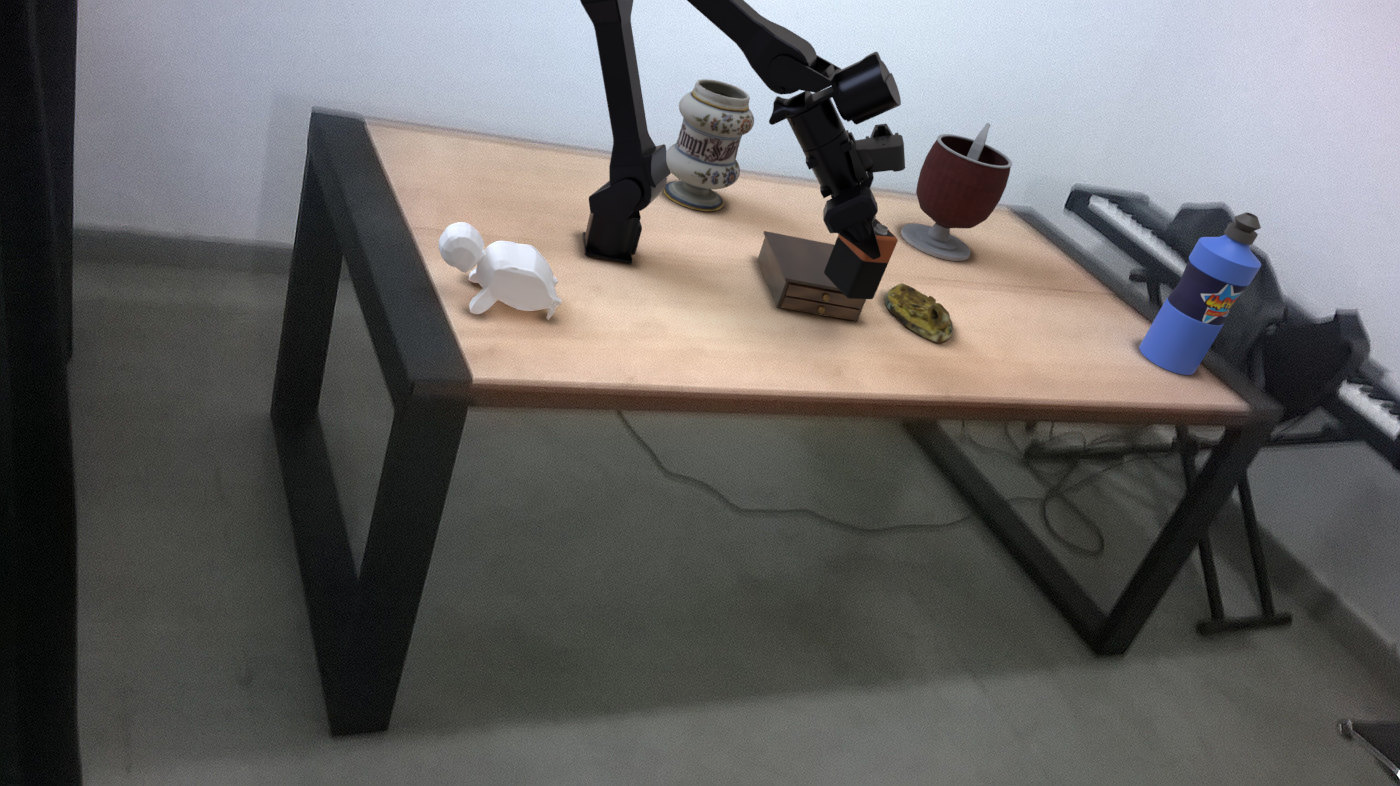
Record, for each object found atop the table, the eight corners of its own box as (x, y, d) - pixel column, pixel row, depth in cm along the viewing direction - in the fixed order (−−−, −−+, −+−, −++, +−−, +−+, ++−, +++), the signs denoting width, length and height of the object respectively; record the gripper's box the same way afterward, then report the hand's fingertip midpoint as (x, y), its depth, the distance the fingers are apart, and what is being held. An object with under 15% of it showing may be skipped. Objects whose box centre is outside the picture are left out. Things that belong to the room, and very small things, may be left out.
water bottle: (1207, 378, 165) (1297, 234, 152) (1159, 371, 162) (1246, 224, 149) (1174, 346, 173) (1256, 206, 160) (1127, 339, 170) (1207, 196, 157)
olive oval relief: (867, 293, 159) (911, 346, 148) (875, 265, 157) (920, 317, 145) (922, 293, 162) (969, 345, 151) (931, 266, 160) (979, 316, 148)
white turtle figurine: (530, 309, 132) (420, 251, 125) (568, 257, 129) (458, 194, 122) (535, 346, 125) (419, 287, 118) (575, 291, 122) (458, 227, 115)
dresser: (776, 311, 143) (787, 281, 141) (754, 258, 156) (764, 230, 154) (861, 326, 147) (873, 297, 144) (833, 273, 159) (844, 246, 157)
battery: (847, 274, 143) (875, 207, 138) (873, 301, 139) (903, 233, 133) (821, 273, 141) (848, 205, 136) (846, 300, 136) (875, 230, 131)
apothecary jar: (692, 178, 177) (722, 72, 167) (744, 210, 171) (778, 103, 162) (640, 184, 168) (669, 73, 159) (693, 218, 162) (726, 106, 153)
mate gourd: (967, 272, 175) (1018, 158, 165) (888, 239, 178) (934, 126, 167) (980, 244, 188) (1028, 138, 178) (906, 215, 191) (950, 108, 180)
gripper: (889, 132, 120) (942, 248, 126) (880, 88, 136) (928, 193, 142) (799, 175, 123) (855, 285, 130) (801, 127, 139) (851, 228, 146)
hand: (875, 245), depth 137 cm, fingers closed on battery, 7 cm apart
